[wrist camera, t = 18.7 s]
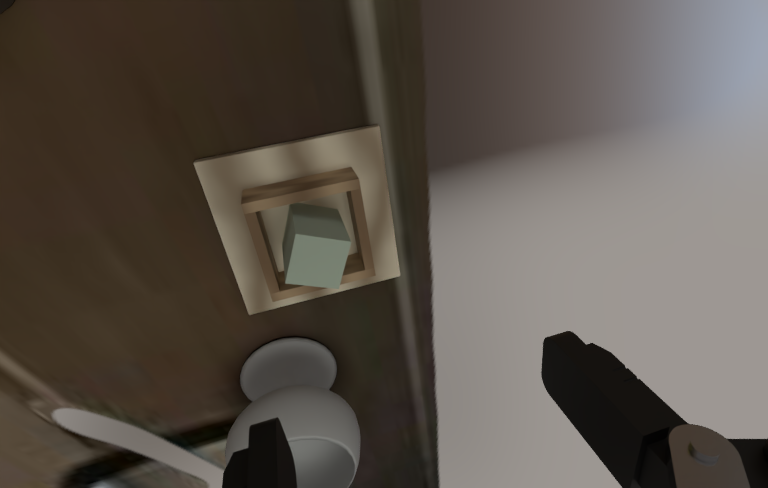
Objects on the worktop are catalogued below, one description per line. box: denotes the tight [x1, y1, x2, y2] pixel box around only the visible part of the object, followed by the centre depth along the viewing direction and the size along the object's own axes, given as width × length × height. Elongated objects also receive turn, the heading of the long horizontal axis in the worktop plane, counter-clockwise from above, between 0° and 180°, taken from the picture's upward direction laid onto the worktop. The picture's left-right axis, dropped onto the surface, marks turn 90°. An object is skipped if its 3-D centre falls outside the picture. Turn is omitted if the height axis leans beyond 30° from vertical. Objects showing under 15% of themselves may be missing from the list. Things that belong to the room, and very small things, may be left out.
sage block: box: [282, 203, 351, 289], centre depth 41 cm, size 5×5×8 cm
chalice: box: [225, 337, 360, 488], centre depth 48 cm, size 14×14×15 cm
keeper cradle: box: [194, 124, 400, 315], centre depth 43 cm, size 18×18×5 cm
